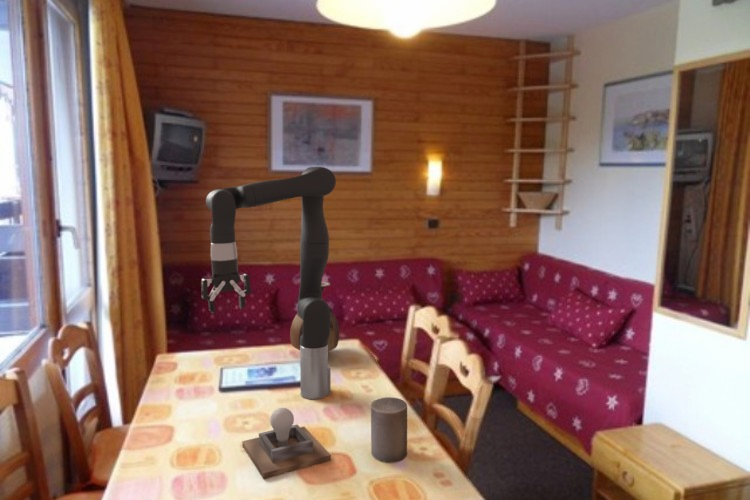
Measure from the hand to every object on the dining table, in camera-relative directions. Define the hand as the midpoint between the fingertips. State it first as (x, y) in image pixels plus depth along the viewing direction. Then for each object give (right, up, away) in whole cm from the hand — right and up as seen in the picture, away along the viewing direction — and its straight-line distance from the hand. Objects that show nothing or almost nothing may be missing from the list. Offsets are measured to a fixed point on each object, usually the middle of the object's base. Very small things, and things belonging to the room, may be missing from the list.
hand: (227, 310), depth 164 cm
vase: (+20, -25, +56) cm, 64 cm away
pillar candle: (+48, -36, -19) cm, 63 cm away
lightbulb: (+20, -34, -20) cm, 44 cm away
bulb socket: (+21, -36, -19) cm, 46 cm away
